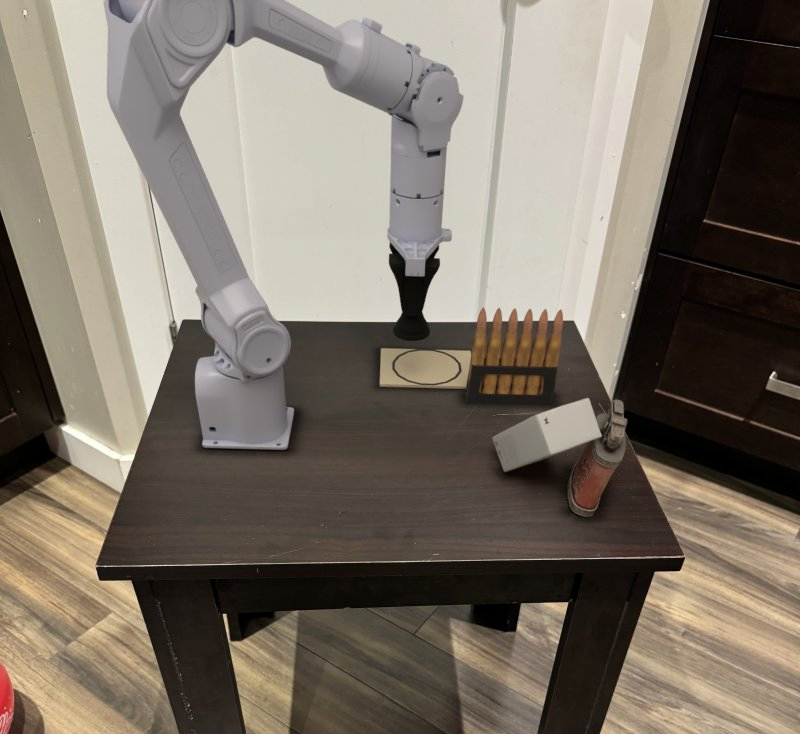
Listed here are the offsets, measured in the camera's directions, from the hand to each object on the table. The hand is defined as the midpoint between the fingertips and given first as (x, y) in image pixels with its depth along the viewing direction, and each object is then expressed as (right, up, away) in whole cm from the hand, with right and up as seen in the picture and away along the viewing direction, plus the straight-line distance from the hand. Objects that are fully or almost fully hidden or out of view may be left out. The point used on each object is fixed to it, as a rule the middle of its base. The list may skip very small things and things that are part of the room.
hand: (411, 309), depth 90 cm
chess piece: (0, -2, +2) cm, 3 cm away
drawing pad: (+2, -5, +9) cm, 11 cm away
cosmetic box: (+12, -17, -5) cm, 21 cm away
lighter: (+18, -22, -8) cm, 30 cm away
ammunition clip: (+12, -10, +5) cm, 16 cm away
